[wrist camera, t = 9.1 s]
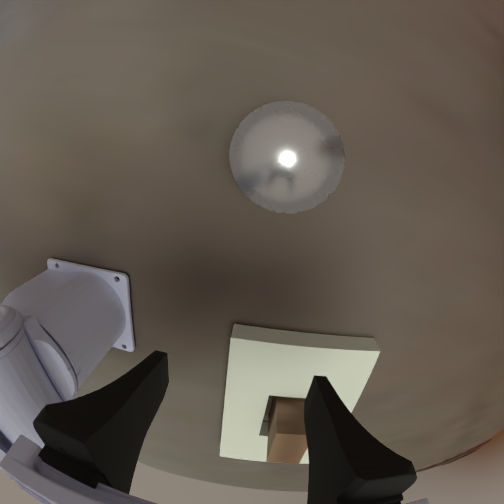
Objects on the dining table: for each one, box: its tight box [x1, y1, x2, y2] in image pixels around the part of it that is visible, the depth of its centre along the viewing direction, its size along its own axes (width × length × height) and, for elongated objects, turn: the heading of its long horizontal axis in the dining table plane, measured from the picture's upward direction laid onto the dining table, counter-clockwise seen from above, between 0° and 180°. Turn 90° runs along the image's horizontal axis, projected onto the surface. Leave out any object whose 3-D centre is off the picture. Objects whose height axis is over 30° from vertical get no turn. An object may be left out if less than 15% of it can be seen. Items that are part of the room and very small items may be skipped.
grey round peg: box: [229, 101, 345, 213], centre depth 16 cm, size 6×6×6 cm
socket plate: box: [220, 324, 380, 464], centre depth 24 cm, size 12×18×2 cm, turn 173°
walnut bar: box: [266, 396, 308, 463], centre depth 22 cm, size 3×5×6 cm, turn 173°
